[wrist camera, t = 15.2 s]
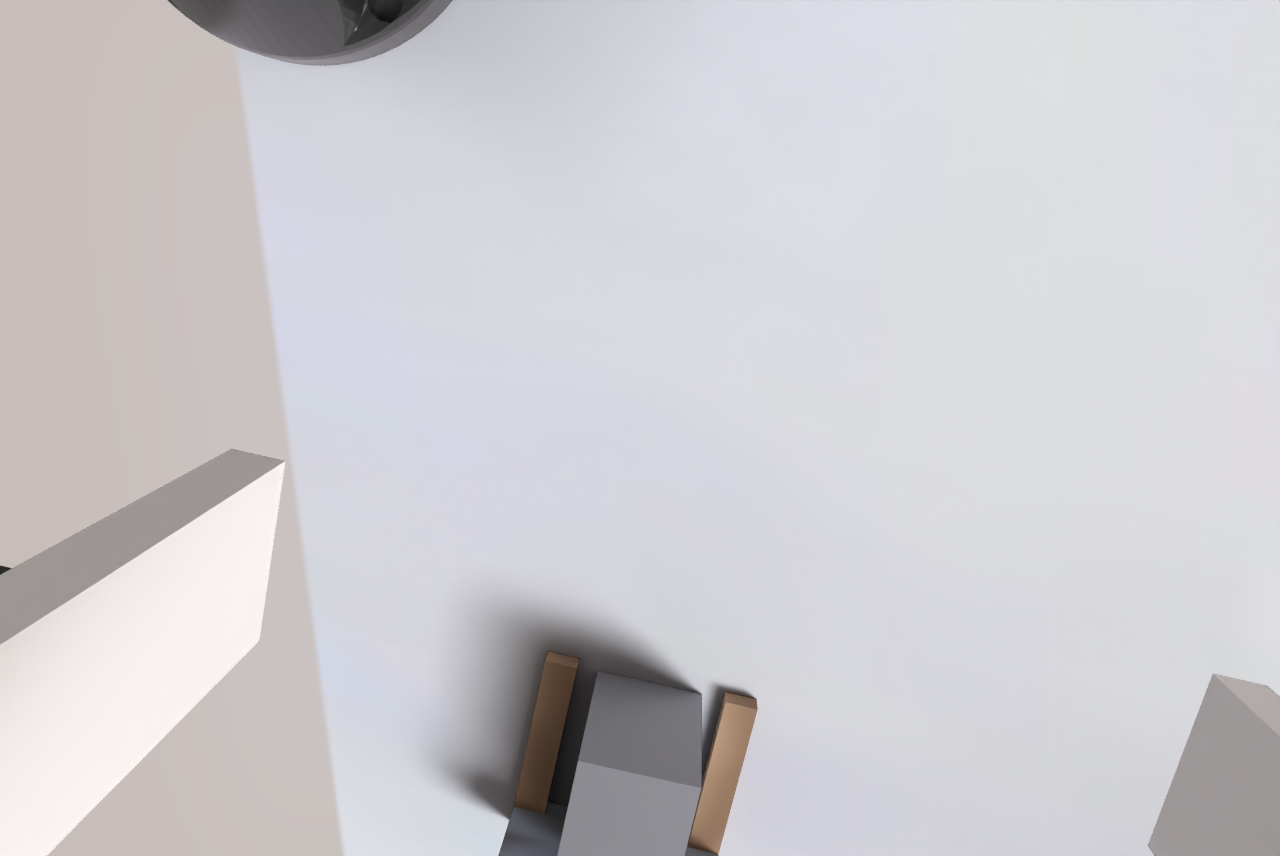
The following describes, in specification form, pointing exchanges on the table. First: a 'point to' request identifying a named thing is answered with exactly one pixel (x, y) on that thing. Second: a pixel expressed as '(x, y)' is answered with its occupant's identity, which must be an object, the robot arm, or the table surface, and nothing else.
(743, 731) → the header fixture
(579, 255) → the table surface
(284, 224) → the table surface
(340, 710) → the table surface
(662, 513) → the table surface
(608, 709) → the plug block
